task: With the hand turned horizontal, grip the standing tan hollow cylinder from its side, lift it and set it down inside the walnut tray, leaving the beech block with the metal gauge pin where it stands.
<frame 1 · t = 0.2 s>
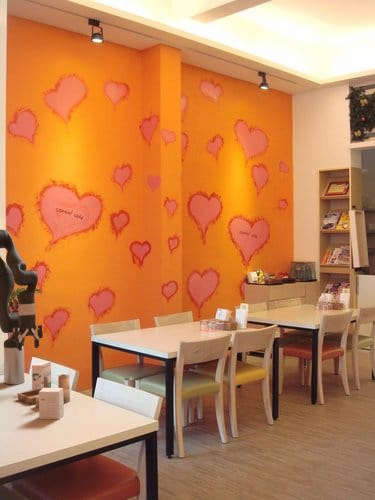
hand: (28, 349, 258), 18 cm above the table, tool pointing down, fingers open, 8 cm apart
small box: (51, 417, 215), on the table
tan hollow cylinder: (64, 401, 236), on the table
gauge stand: (46, 406, 229), on the table
tray: (36, 399, 239), on the table
ink box: (41, 389, 257), on the table
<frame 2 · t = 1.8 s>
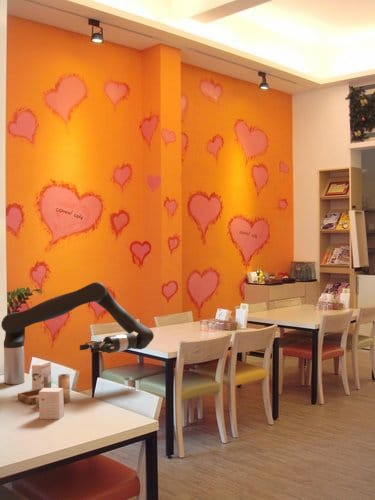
hand: (85, 349, 243), 20 cm above the table, tool horizontal, fingers open, 8 cm apart
nothing on the table moved.
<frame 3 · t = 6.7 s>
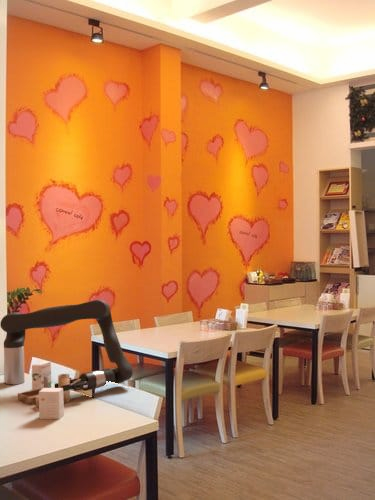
hand: (58, 387, 234), 6 cm above the table, tool horizontal, fingers closed on tan hollow cylinder, 4 cm apart
tan hollow cylinder: (64, 401, 236), on the table, touching gripper
everything else where it was.
when the fingers open (8 cm above the table, at t = 11.9 s): tan hollow cylinder stays where it is, resting on tray.
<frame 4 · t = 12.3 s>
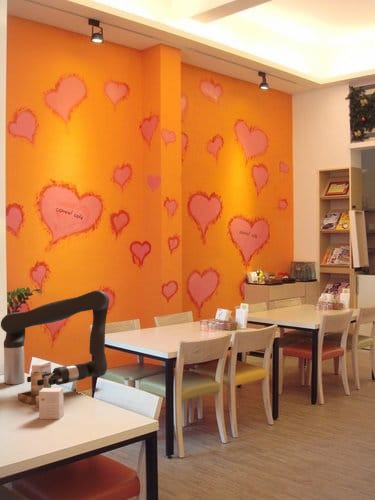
hand: (32, 381, 238), 8 cm above the table, tool horizontal, fingers open, 8 cm apart
tan hollow cylinder: (36, 397, 239), point 1 cm above the table, touching tray
everything else where it was.
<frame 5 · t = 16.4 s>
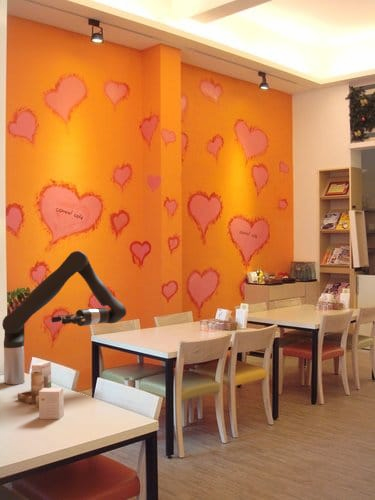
hand: (57, 320, 248), 32 cm above the table, tool horizontal, fingers open, 8 cm apart
nothing on the table moved.
at the end: tan hollow cylinder inside the target area on the tray (0.1 cm from its centre), point 0.6 cm above the tray's base; tan hollow cylinder tilted 0°; the gripper is holding nothing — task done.
